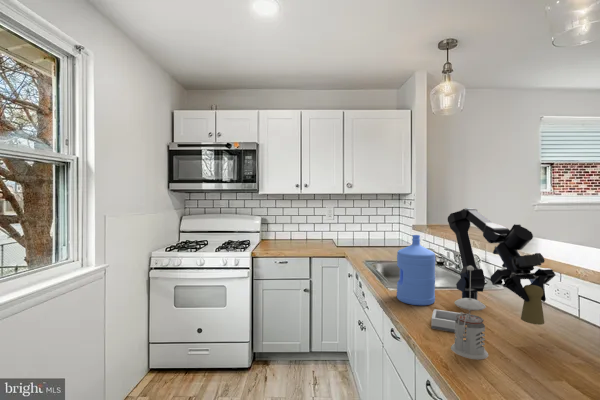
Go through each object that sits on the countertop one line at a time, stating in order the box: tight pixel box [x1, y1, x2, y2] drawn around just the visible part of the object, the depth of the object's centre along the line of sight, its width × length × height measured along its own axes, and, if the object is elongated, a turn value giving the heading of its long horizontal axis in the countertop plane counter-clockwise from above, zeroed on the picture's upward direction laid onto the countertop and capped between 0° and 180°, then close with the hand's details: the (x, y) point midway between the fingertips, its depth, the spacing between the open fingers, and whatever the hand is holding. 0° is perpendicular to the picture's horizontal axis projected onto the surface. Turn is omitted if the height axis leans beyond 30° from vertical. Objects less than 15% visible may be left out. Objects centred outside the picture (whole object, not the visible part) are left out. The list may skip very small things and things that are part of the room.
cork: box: [520, 284, 545, 326], centre depth 102 cm, size 6×6×11 cm
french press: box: [450, 266, 489, 360], centre depth 95 cm, size 10×12×25 cm
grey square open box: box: [430, 308, 464, 334], centre depth 114 cm, size 10×10×4 cm
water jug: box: [396, 234, 436, 306], centre depth 141 cm, size 16×16×28 cm
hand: (536, 301), depth 101 cm, fingers closed on cork, 5 cm apart
